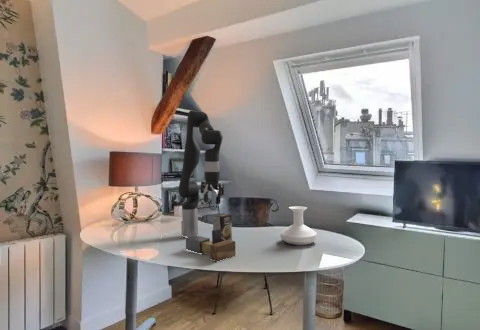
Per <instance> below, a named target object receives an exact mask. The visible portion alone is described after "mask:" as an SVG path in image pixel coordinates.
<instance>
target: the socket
mask: <svg viewBox="0 0 480 330" xmlns="http://www.w3.org/2000/svg"><path fill="white" fill-rule="evenodd" d="M235 255H236V241H235V240H232V241H231V240H225V241H222V242H218V243H215V244H212V245H210V255H209V256H210V259H212V260H215V261H214V262H216V261H220V260H223V259H226V258H228V259H230V258H229V257H231V258H233V257H232V256H234V257H236V256H235ZM210 259H209V260H210ZM212 260H211V261H212ZM226 260H227V259H226ZM223 261H224V260H223ZM220 262H221V261H220Z"/></svg>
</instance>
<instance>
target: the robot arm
mask: <svg viewBox="0 0 480 330" xmlns="http://www.w3.org/2000/svg"><path fill="white" fill-rule="evenodd" d="M194 128H197V129H198V130H199V133H200V135H201V143H203V144H204V145H212V146H213V145H214V146H213V148H209V149H206V150H205V151H204V169H203V170H204V171H203V173H204V178H203V179H204V181H203V180H202V181H200V188H199V184H198V183H197V182H196V181H191V180H190V179H191V177H192V174H193V173H194V171H195V169H197V166H198V164H199V162H200V158H201V148H200V146H199V144H198V142H197V140H196V137H195V134H194ZM185 137H186V138H185V145H184V151H183V161H182V170H181V175H180V180H179V184H178V194H179V196H180V198H183V199H186V198H187V200H185V202H183V203H182V205H181V213H182V214H181V216H182V219H181V221H180V222H181V223H180V224H181V225H180V226H181V236H182V235H183V236H187V237H192V236H197V235H198V236H199V218H198V215H199V214H198V213H199V211H198V205H199V202H200V201H199V195H200V193H201V194H202V195H203V203H208V202H209V193H210V192H213V193H214V195H215V204H216V205H219V204H220V203H221V197H222V196H224V195H225V193H224V192H225V191H224V188H225V187H224V182H219V181H220V177H221V176H220V171H221V170H220V168H221V167H220V151H221V145H222V142H223V138H224V135H223V133H222V131H220V130H215V128H214V127H213V126H212V124H211V122H210V119H209V116H208V114H207V113H206V112H205V111H198V110H190V111H188V114H187V120H186V136H185Z"/></svg>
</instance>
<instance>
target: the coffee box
mask: <svg viewBox="0 0 480 330" xmlns="http://www.w3.org/2000/svg"><path fill="white" fill-rule="evenodd" d="M232 215H233V214H231V213H221V214H217V215H212V230H216V229H221V242H222V241H225V240H231V241H233V230H232V229H233V226H232V225H233V223H232V222H233V221H232V219H233V218H232Z"/></svg>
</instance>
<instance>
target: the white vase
mask: <svg viewBox="0 0 480 330" xmlns="http://www.w3.org/2000/svg"><path fill="white" fill-rule="evenodd" d="M288 209H290V210H291V211H292V212H293V224H291V225H289V226H287V227H286V228H284V229H283V230H281V232H280V233H279V235H280V239H281V240H283V242H285V243H287V244H289V245H295V246H304V245H310V244H313V242H315V241H316V240H317V239H318V233H317V232H316V231H315V230H313V229H312V228H310V227H309V226H307V225H305V224H304V212H305V211H306V210H307V209H308V207H307V206H302V205H301V206H298V205H295V206H289V207H288Z"/></svg>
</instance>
